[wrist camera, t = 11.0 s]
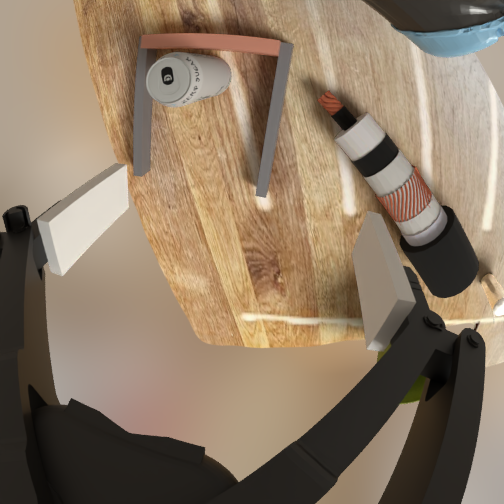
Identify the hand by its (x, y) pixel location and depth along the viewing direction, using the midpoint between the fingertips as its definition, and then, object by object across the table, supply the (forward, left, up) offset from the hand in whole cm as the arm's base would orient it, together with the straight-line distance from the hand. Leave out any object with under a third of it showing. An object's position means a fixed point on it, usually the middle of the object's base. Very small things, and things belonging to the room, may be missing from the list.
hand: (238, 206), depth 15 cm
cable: (+5, +19, -29) cm, 35 cm away
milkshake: (+18, +47, -29) cm, 58 cm away
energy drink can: (-5, -10, -29) cm, 31 cm away
